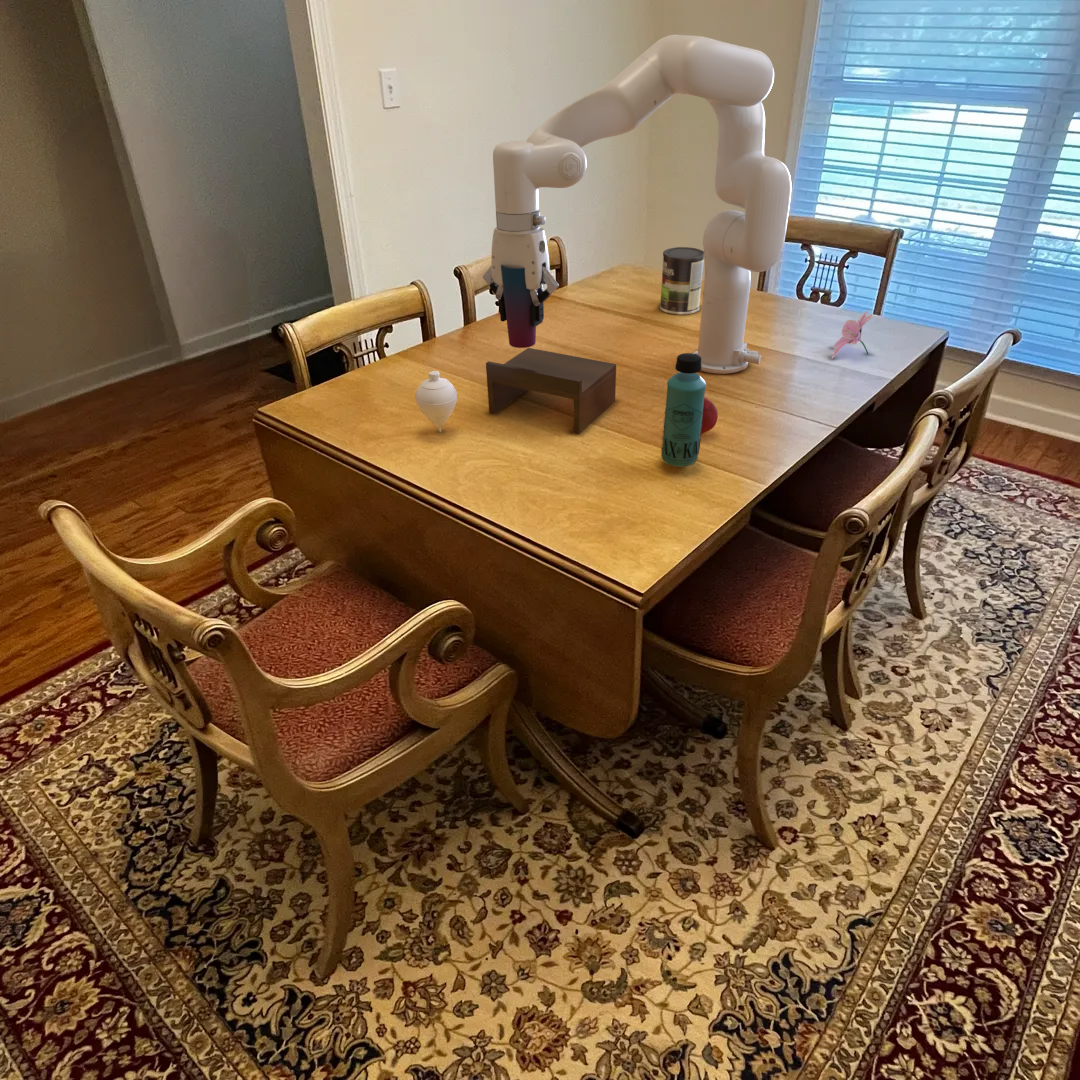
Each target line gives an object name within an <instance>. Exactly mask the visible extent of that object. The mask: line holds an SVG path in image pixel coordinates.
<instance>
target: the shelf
mask: <svg viewBox="0 0 1080 1080" xmlns="http://www.w3.org/2000/svg"><path fill="white" fill-rule="evenodd" d="M485 370H486V371H485V372H486V373H485V374H486V385H487V386H486V387H487V401H488V413H489V414H491V415H496V414H497V413H498V412H499V411H501V410H503V408H505V407H506V406H508V405H509V404H511V403H512V402H513V401H514V400H516V399H517V398H519V397H520V396H521V395H523V394H524V393H526V391H532V392H538V393H541V394H546V395H551V396H557V397H562V398H566V399H571V400H573V433H574V434H576V435H577V434H578V435H580V434H581V433H582V432H583V431H584V430H586V428H588V427H589V426H590V425H591V424H592V423H593V422H595V420H596V419H597V418H599V417H600V416H602V414H603V413H604V412H605V411H606V410H607V409H609V408H610V407H611V406H612V405H613V404H614V403H615V402H616V391H617V390H616V386H617V363H613V362H607V361H602V360H598V359H597V360H596V359H591V358H587V357H586V358H585V357H582V356H581V357H580V356H576V355H569V354H565V353H559V352H553V351H548V350H544V349H543V350H542V349H538V348H531V347H527V348H525V349H524V350H522V351H521V352H519V353H518V354H517V355H515V356H513V357H512V358H511V359H509V360H508V361H506V362H505V363H500V362H494V361H486V362H485Z"/></svg>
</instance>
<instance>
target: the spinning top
mask: <svg viewBox="0 0 1080 1080" xmlns="http://www.w3.org/2000/svg"><path fill="white" fill-rule="evenodd" d="M428 377H429V378H426V379H424V380H422V381H421V383H420V385H418V387H417V389H416V392H415V402H416V405H417V406H418V408H419V410H420V411H421V413H422V414H423V415H424V416H425V417H426V418H427V419H428V421H430V422H431V424H433V425H434V426H435V427H436V428H438V432H439V433H442V428H443V427H444V426H445V424H446V423H447V421H448V420H449V419H450V417H451V415H452V414H453V412H454V410H455V408H456V405H457V402H458V392H457V389H456V388H455V386H454V384H452V383H451V382H450V380H449V379H446V378H445V377H440V372H439V371H438V370H431V371H429V372H428Z"/></svg>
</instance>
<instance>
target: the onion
mask: <svg viewBox="0 0 1080 1080" xmlns="http://www.w3.org/2000/svg"><path fill="white" fill-rule="evenodd" d="M703 415H704V416H702V423H703V424H702V425H701V428H702V429H701V430H702V431H701V434H700V436H702V435H703V434H706V433H707V432H709V431H711V430H713V429H714V427H715V426H716V424H717V422H718V418H719V412H718V409H717V407H716V405H715V404H714V403H713V402H712V400H710V399H709V398H708V397H706V396H704V405H703Z"/></svg>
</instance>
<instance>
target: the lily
mask: <svg viewBox="0 0 1080 1080" xmlns="http://www.w3.org/2000/svg"><path fill="white" fill-rule="evenodd" d="M869 310H870V309H867V310H865V312H864V313H863V314H862V315H861V316H860V317H858V319H857V321H856V320H855V319H848V320H846V321H845V322H844V324H843V326H842V327H841V328H842V329H841V336H842V337H840V338H839V339H838V340H837V341H836V342H835V343H834V344H833V345H832V347H831V349H834V350H833V352H832V355H831V359H833V358H835V356H836V355H837V354H838V353H839V352H840V351H841V350H842V349H843V348H844V347H845V346H846V345H857V344H858V342H860V343H861V344H862V346H863V347H864V350H865V352H866V354H867V355H869V351H868V349H867V346H866V345H865V343H864V341H863V340H862V330H863V327H864V325H866V324H867V323H868V322H869V321H870V320H871V319H872V318H874V314H869V315H868V312H869Z"/></svg>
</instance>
